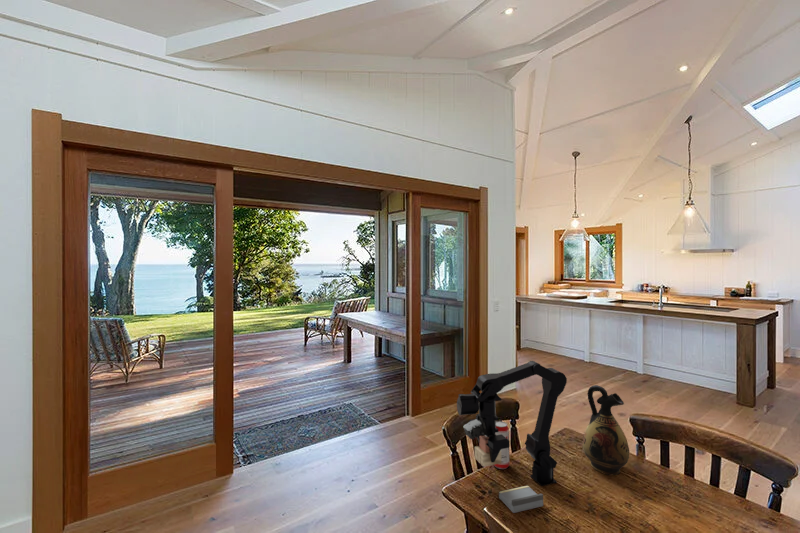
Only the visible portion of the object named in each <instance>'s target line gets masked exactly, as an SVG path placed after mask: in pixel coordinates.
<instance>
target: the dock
mask: <svg viewBox="0 0 800 533" xmlns="http://www.w3.org/2000/svg"><path fill="white" fill-rule="evenodd" d="M498 498H499V500H500V501H502V503H503V504H505V506H506V507H507V508H508V509H509V511H511V512H512V513H513V514H515V513H520V512H523V511H528V510H532V509H535V508H541V507H543V506H544V494H543V493H536V491H534V490H533V488H531V487H530V486H529V485H524V486H519V487H514V488H509V489H505V490H501V491H498Z"/></svg>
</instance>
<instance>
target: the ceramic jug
mask: <svg viewBox="0 0 800 533" xmlns="http://www.w3.org/2000/svg"><path fill="white" fill-rule="evenodd" d="M595 392H599V393H601V396H600V397H598V398H597V399H596V403H597V404H598V405H600V409H599V410H598V409H597V407H596V404H595V399H594V395H593V394H594V393H595ZM587 400H588V403H589V405H590V411H591V415H590V418H589V424H588V425H587V427H586V428H585V430H584V433H583V437H582V449H583V452H584V455H585V456H586V457H587V458H588V460H589V461H590V465H591V467H592V468H593V469H594V470H595V471H597V472H599V473H601V474H604V475H606V476H617V475H620V473H621V469H622V468H623V467H624V466H625V465H627V463H628V462H629V459H630V453H631V452H630V447H629V443H628V439H627V437H626V434H625V433H624V431H623V429H622V427H621V425H620V424H619V422H618V420H617V419H616V418H615V417H614V414H613V413H612V409H611V408H612V407H616V406H617V407H618V406H623V405H625V403H624V401H623V400H622V398H621V396H620V395H618V394H617V393H616V392H614V393H611V394H609V395H608V391H607V390H606V389H605V387H602V386H600V385H597V384H595V385H594V384H593V385H592V386H589V388H588V390H587Z"/></svg>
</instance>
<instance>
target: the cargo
mask: <svg viewBox="0 0 800 533" xmlns="http://www.w3.org/2000/svg"><path fill="white" fill-rule="evenodd" d="M488 439H489V437H486V436H485V435H483V436H480V448H481V449H482V450H483V451H484V452H485V453H487V452H490V450H489V447H488V446H487V445H486V444H487V443H488Z"/></svg>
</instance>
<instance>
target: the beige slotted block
mask: <svg viewBox="0 0 800 533" xmlns="http://www.w3.org/2000/svg"><path fill="white" fill-rule="evenodd" d="M474 459H475V460H476V461H477V462H478V463H479V464H480V465H481V466H482V467H483V468H484V467H489V466H494V465H495V464H500V463H501V451H500V452H499V454H498V456H497V458H496V460H495V462H491V459H490V452H487V453H485V452H484V451H483V450H482V449H481V448H480V446H479V445H476V446H474Z"/></svg>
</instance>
